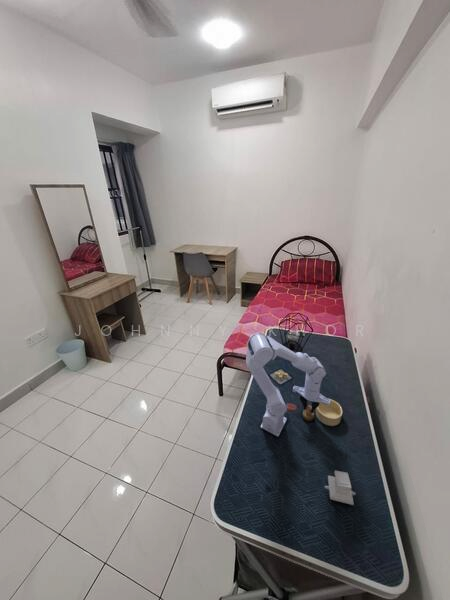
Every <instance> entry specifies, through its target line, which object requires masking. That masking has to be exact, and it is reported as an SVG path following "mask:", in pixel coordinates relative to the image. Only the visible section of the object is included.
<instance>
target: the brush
mask: <svg viewBox="0 0 450 600" xmlns="http://www.w3.org/2000/svg"><path fill="white" fill-rule="evenodd" d="M311 409H312V405H308V404H307V406H306V410H304V409H303V411H302V418H303V419H304V420H305V421H307V422H312V421H313V420H314V418H315V417H314V416H315V414H314V413H315V412H313V413H311Z"/></svg>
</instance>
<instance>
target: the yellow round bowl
mask: <svg viewBox="0 0 450 600" xmlns="http://www.w3.org/2000/svg"><path fill="white" fill-rule="evenodd" d="M328 399H329V400H331V401H330V405H329V407H328V406H326V404H324V403H320V404H319V406H318V407H317V408H316V409H315V416H316V418H317V419H318V421H319V422H321V423H322V424H324V425H326V426H330V427H335V426H337V425H339V424H340V423H341V421H342V417H343V408H342V406H341V405H340V403H339V402H337V401H336V400H334V399H331V398H328Z"/></svg>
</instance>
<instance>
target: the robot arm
mask: <svg viewBox="0 0 450 600" xmlns="http://www.w3.org/2000/svg"><path fill="white" fill-rule="evenodd" d="M277 357H279V358H282V359H284V360H286V361H289V362H290V363H291V365H292V366H293V367H294V368H296V369H298V370H300V371H302V372H304V373H305V379H304V387H303V386H298V385H294V386H293V387H292V393H298V394H299V395H300V396H299V401H300V402H301V404H302V407H303V410H306V406H307V405H308V401H309V402H311V407H312V409H311V413H314V411H316V408H317V407H318V406H319V404H320V403H324V404H326V406H328V407H329V405H330V401H331V400H332V399H331V400H329V399H330V398H327V397H326V396H325V395H323V394H322V393H320V391H321V390H320V389H321V384H322V381H323V378H324V377H326V374H327V372H326V369H325V367H324V366H323V364H322V363H321V362H320V361H319V359H318V358H317V357H316V356H311V357H310V356H309V354H308V353H306V352H300V351H297V352H295V351H293V350H291V349H289V348H288V347H286V346H284V345H282V344H281V343H280V342H278V341H276V340H275V339H274V338H272V336H269V335H265V334H264V333H263V332H255V333H253V334H251V335H250V336H249V339H248V340H247V342H246V357H245V363H246V366H247V369H248V371H249V372H250V374H251V375H252V378H253V379H254V380H255V382H256V384H257V385H258V386H259V388H260V390H261V391H262V393H263V395H264V396H265V399H266V400H267V401H266V405H265V413H264V414H263V417H262V422H261V425H260V428H261V429H263V430H265V431H267V432H268V433H270V434H272V435H274V436H276V437H279V436H280V434H281V432H282V430H283V428H284V426H285V424H286V422H287V419H288V418H287V417H285V414H286V413H287V411H288V406H287V404H286V403H285V401H284V398H283V395H282V393H281V390H280V389H279V387H277V386H275V385H274V383H273V382H272V380H271V379H270V377H269V376H268V374H267V372H266V371H265V368H264V366H266V364H267V363H269V362H270V361H274V360H275V359H276V358H277Z"/></svg>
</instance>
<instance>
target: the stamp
mask: <svg viewBox="0 0 450 600" xmlns="http://www.w3.org/2000/svg"><path fill="white" fill-rule="evenodd" d="M327 482H328V485H325V486H324V488H325V490H327V491H328V492H329V499H330V500H332V501H335V502H340V503H343V504H348V505H351V506H355V503H354V498H353V497H354V496H356V495H357V494H356V492H355V491H353V490H352V484H351V480H350V476H349V473H348V472H345V471H339V470H334V476H333V475H327Z"/></svg>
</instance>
